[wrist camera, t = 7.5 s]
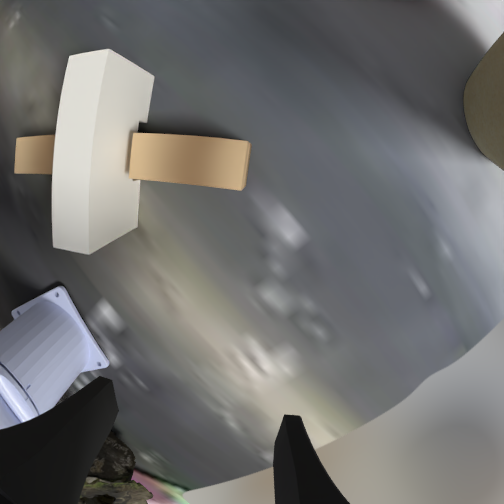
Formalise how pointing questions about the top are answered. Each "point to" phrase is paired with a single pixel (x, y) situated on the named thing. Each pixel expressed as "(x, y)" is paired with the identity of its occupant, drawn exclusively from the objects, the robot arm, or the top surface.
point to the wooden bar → (158, 159)
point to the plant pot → (487, 104)
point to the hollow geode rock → (113, 477)
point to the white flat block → (97, 150)
